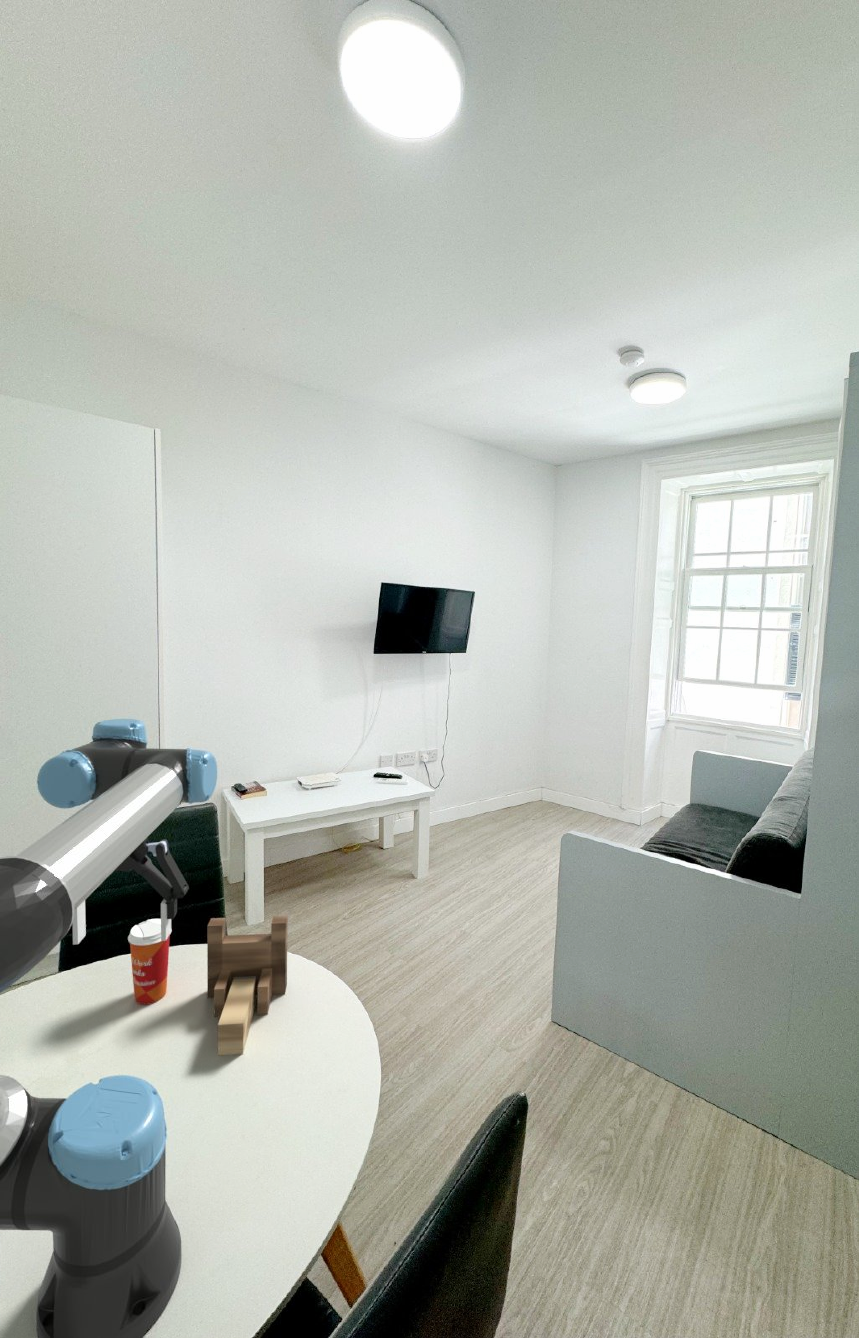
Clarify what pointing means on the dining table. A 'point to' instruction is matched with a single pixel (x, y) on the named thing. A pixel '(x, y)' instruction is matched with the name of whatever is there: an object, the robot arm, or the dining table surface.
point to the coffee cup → (149, 961)
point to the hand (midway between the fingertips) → (123, 938)
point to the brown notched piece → (246, 962)
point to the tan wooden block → (237, 1016)
